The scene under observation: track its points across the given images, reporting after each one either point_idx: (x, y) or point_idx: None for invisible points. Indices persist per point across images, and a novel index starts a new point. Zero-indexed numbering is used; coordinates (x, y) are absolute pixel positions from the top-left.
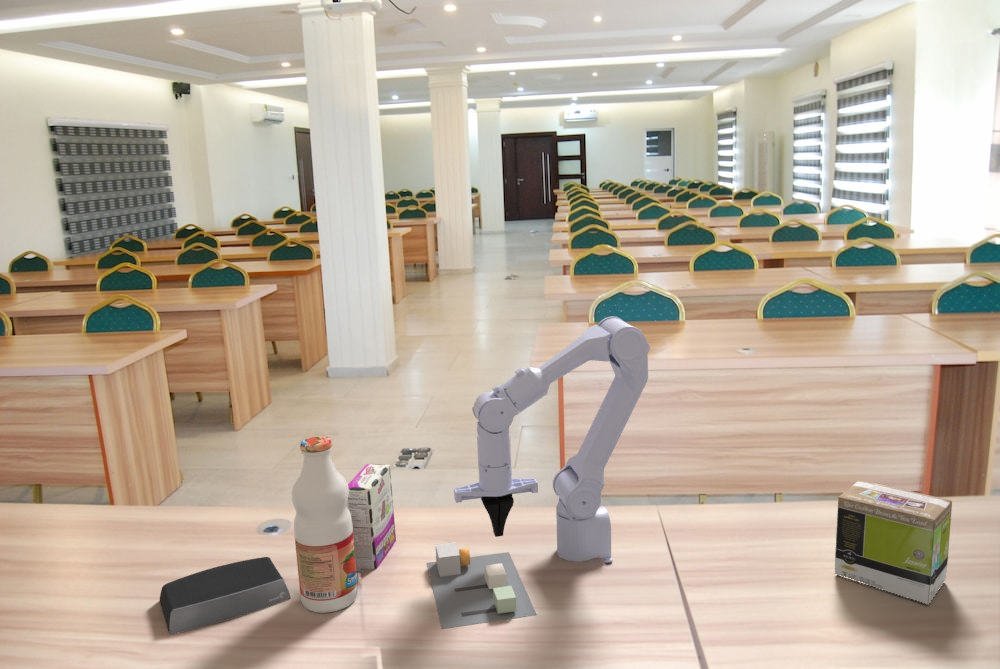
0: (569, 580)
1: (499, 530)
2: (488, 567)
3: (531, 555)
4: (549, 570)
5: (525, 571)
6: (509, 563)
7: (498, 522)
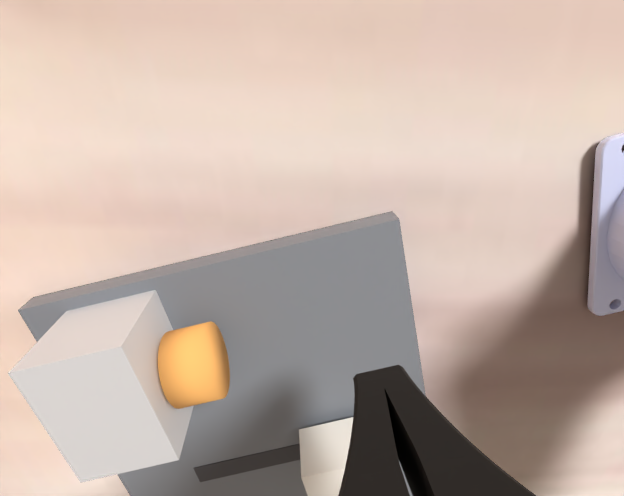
0: (586, 370)
1: (402, 466)
2: (319, 489)
3: (493, 196)
4: (537, 311)
5: (447, 318)
6: (395, 315)
7: (410, 473)
